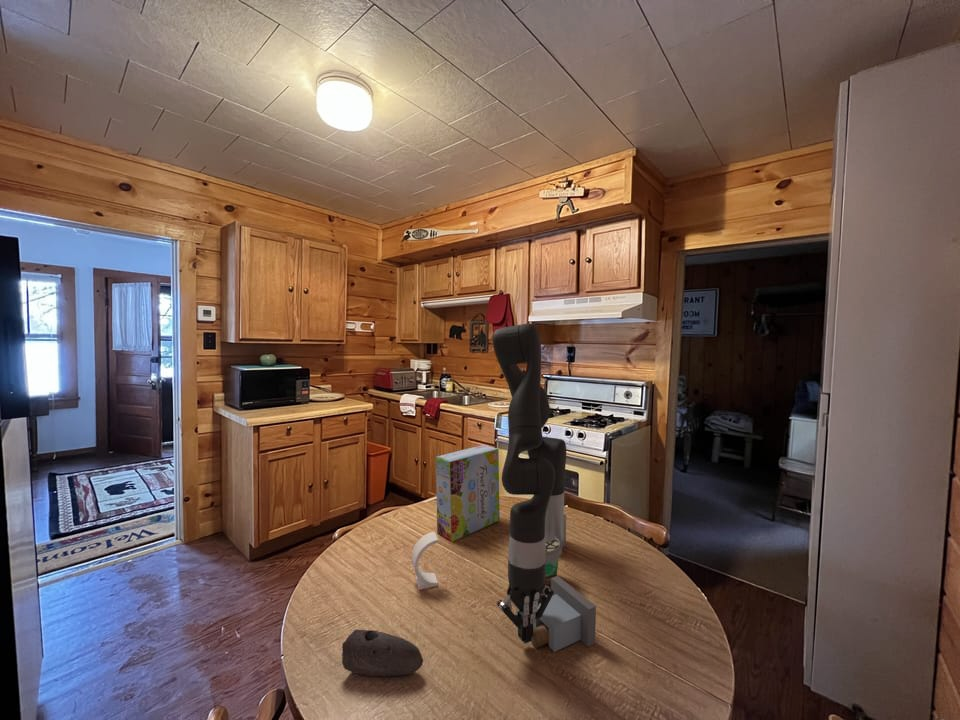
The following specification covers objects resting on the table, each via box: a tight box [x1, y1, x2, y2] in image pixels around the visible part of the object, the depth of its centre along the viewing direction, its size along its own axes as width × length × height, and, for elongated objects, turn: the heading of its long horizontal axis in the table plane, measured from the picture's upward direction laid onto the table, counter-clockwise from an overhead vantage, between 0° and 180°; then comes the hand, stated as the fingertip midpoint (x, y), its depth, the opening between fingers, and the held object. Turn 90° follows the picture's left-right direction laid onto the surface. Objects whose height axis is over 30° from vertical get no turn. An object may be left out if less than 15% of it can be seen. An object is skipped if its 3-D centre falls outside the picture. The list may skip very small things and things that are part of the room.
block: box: [533, 594, 581, 653], centre depth 84 cm, size 7×8×5 cm
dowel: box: [530, 624, 549, 649], centre depth 83 cm, size 8×3×3 cm, turn 119°
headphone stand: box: [411, 531, 439, 591], centre depth 101 cm, size 5×6×12 cm
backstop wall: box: [551, 575, 597, 648], centre depth 86 cm, size 2×12×8 cm, turn 29°
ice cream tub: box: [545, 536, 563, 588], centre depth 101 cm, size 12×6×10 cm, turn 117°
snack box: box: [435, 444, 501, 543], centre depth 132 cm, size 22×9×26 cm, turn 133°
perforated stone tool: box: [341, 629, 424, 677], centre depth 74 cm, size 15×5×7 cm, turn 83°
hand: (525, 639), depth 80 cm, fingers closed
